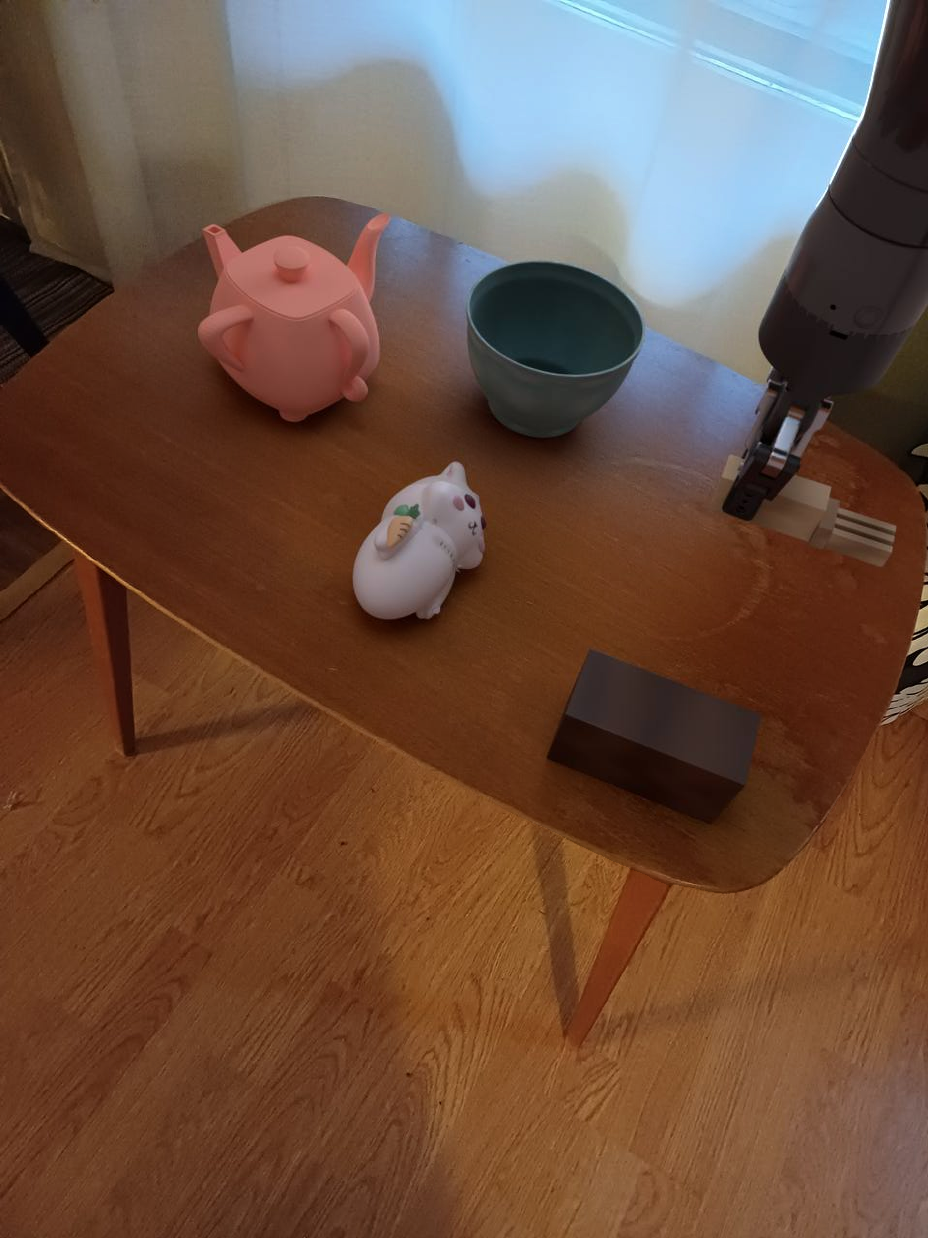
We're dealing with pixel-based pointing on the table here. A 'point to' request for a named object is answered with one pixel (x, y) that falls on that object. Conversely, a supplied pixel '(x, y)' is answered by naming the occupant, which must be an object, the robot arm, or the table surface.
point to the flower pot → (550, 343)
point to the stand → (655, 737)
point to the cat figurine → (420, 547)
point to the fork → (814, 518)
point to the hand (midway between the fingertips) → (741, 498)
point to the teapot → (294, 319)
